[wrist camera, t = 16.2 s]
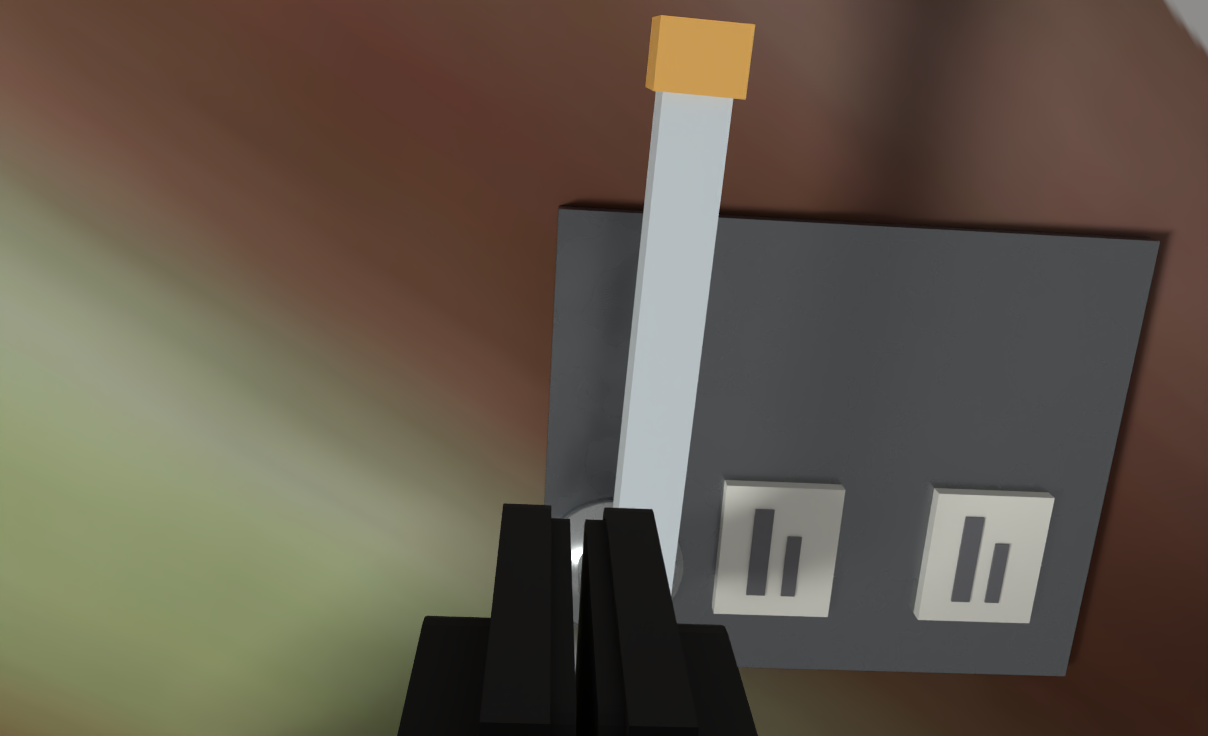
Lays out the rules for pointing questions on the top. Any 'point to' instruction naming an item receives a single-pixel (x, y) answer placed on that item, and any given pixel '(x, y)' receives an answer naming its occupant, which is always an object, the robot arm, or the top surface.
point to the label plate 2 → (982, 555)
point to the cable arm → (676, 259)
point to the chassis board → (868, 410)
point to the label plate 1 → (777, 548)
